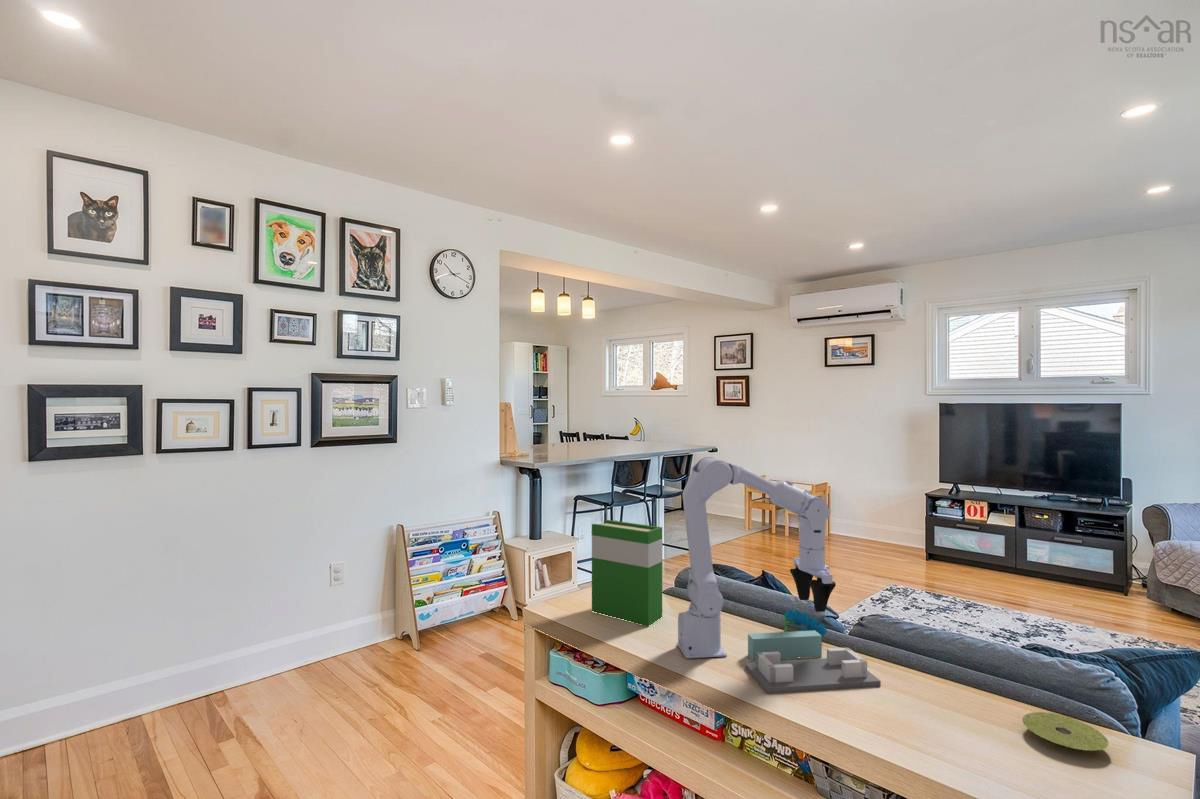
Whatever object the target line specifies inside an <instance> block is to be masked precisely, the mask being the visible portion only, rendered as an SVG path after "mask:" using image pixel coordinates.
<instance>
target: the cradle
mask: <svg viewBox="0 0 1200 799" xmlns="http://www.w3.org/2000/svg"><path fill="white" fill-rule="evenodd" d="M744 668H745V670H746V671H747V672H748V673H749V674H750V676H752V677H753V679H754V680H755V681H756V682H757V683H758V685H759V686H760V687H761V689H762V690H763V691H764V692H765V693H766V694H778V693H791V692H792V693H794V692H806V691H807V692H809V691H823V690H822V689H826V690H837V689H836V688H840V689H854V688H855V689H856V688H867V687H880V686H881V684H882V682H881V680H880V679H879V678H877V676H876V675H874V673H871V672H870V671H869V670H868V661H867V660H866V659H864V658H863V657H861V656H860V655H859V654H857V653H856V652H855V651H854V650H852V649H851V648H850V647H832V648H830V647H829V648H827V649H826V658H809V659H808V658H805V659H795V660H794V659H789V660H782V659H781V654H780V653H779V652H778V651H777V652H760V653H756V661H755V662H746V663H745V667H744Z"/></svg>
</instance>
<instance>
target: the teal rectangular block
mask: <svg viewBox="0 0 1200 799" xmlns="http://www.w3.org/2000/svg"><path fill="white" fill-rule="evenodd" d="M822 638H823V637H822V636H821V635H820V634H819V633H818V632H816V631H815V630H814V631H800V630H794V631H787V632H783V631H777V632H776V631H775V632H763V633H762V632H760V633H759V632H758V633H757V632H756V633H748V634H747V656H748V657H749V659H751V660H752V661H753V662H756V653H760V652H777V651H778V652H779V653H780V654H781V660H789V659H788V658H797V659H802V658H801V657H814V658H822V657H823V655H822V654H823V651H822V650H823V649H822V648H823V643H822V641H823V639H822ZM798 657H800V658H798Z"/></svg>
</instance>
